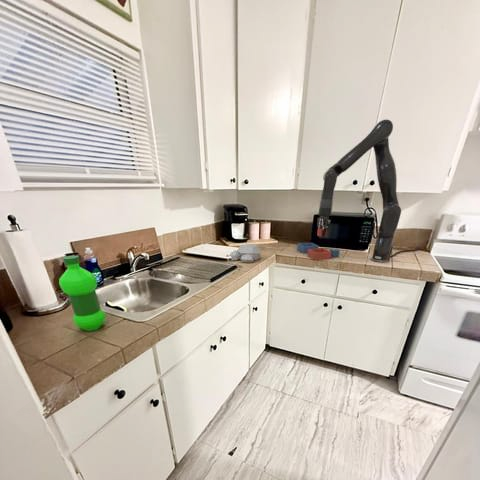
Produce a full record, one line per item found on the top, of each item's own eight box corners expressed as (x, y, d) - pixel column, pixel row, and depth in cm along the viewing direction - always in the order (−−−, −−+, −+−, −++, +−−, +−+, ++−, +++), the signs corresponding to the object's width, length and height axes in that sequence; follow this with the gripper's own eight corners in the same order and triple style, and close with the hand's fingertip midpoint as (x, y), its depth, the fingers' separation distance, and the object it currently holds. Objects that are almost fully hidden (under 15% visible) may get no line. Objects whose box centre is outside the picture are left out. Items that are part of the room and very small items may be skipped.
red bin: (322, 254, 179) (323, 248, 177) (330, 258, 170) (331, 252, 168) (307, 255, 177) (308, 249, 175) (314, 259, 168) (315, 253, 166)
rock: (254, 264, 159) (254, 248, 155) (225, 261, 167) (225, 245, 162) (264, 257, 174) (265, 242, 169) (237, 254, 181) (237, 240, 176)
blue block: (335, 255, 178) (336, 248, 176) (338, 256, 174) (339, 250, 172) (329, 255, 177) (330, 249, 175) (332, 257, 173) (333, 250, 171)
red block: (323, 235, 170) (324, 228, 168) (326, 236, 166) (327, 229, 164) (316, 235, 169) (317, 228, 167) (320, 236, 165) (321, 229, 163)
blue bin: (310, 248, 195) (311, 242, 193) (317, 252, 185) (318, 245, 183) (296, 249, 193) (297, 243, 191) (303, 253, 183) (303, 246, 181)
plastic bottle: (97, 335, 87) (73, 262, 75) (69, 333, 89) (42, 260, 77) (114, 321, 96) (96, 253, 84) (89, 319, 97) (67, 252, 85)
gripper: (337, 207, 154) (332, 237, 162) (325, 205, 166) (321, 233, 174) (325, 208, 152) (321, 238, 161) (314, 206, 165) (311, 233, 173)
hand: (321, 235), depth 167 cm, fingers closed on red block, 4 cm apart
